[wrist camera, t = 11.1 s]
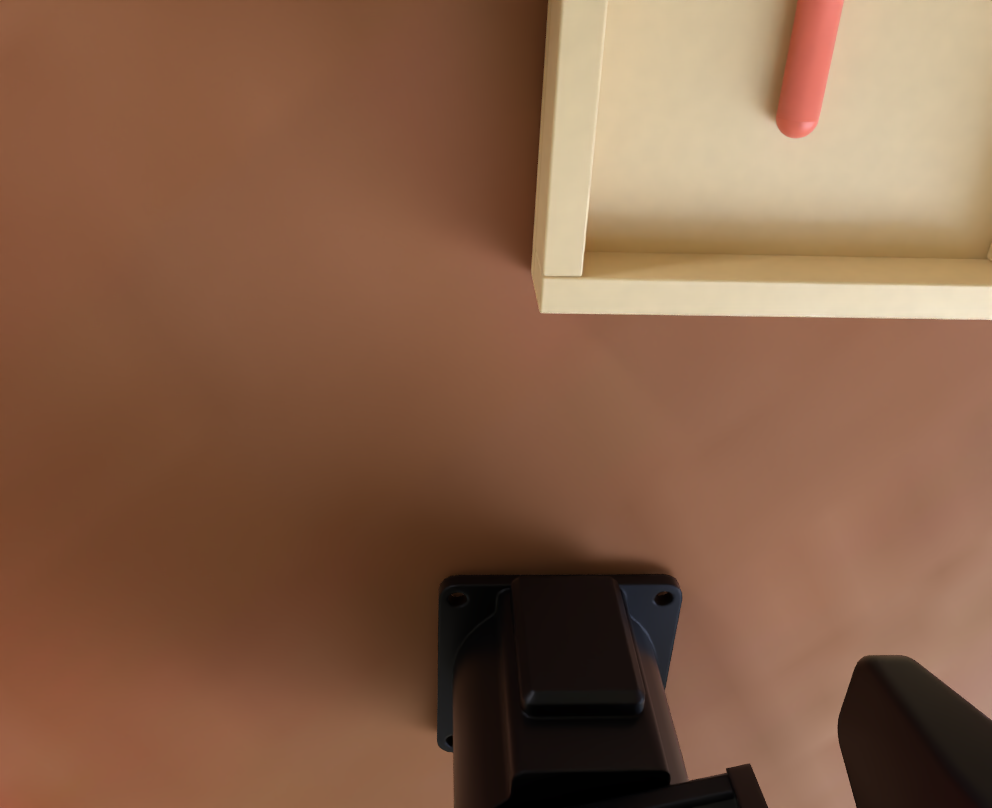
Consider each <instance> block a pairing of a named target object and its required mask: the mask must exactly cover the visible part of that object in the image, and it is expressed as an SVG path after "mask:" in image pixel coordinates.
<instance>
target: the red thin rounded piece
mask: <svg viewBox="0 0 992 808" xmlns="http://www.w3.org/2000/svg"><path fill="white" fill-rule="evenodd" d="M843 3H844V0H798V2H797V7H796V12H795V18H794V23H793V28H792V34H791V39H790V44H789V50H788V55H787V60H786V66H785V71H784V76H783V82H782V87H781V93H780V98H779V103H778V109H777V114H776V124H777V126H778V128H779V130H780V131H781V133H782V134H784V135H785V136H787V137H790V138H802V137H805V136H807V135H808V134H810V133H811V132H812V131H813V130H814V129H815V128H816V126H817V124H818V121H819V117H820V112H821V108H822V103H823V98H824V93H825V89H826V84H827V79H828V74H829V70H830V65H831V60H832V55H833V51H834V46H835V41H836V36H837V32H838V27H839V22H840V18H841V13H842V8H843Z"/></svg>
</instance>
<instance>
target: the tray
mask: <svg viewBox="0 0 992 808" xmlns="http://www.w3.org/2000/svg"><path fill="white" fill-rule="evenodd" d="M797 2H798V0H548V12H547V28H546V44H545V60H544V76H543V92H542V108H541V123H540V139H539V155H538V171H537V187H536V203H535V219H534V234H533V250H532V266H531V274H532V279H533V284H534V288H535V293H536V297H537V302H538V306H539V311H540V312H541V313H567V314H634V315H701V316H768V317H836V318H903V319H970V320H992V0H844V3H843V8H842V13H841V18H840V22H839V27H838V32H837V36H836V41H835V46H834V51H833V55H832V60H831V65H830V70H829V74H828V79H827V84H826V89H825V93H824V98H823V103H822V108H821V112H820V117H819V121H818V124H817V126H816V128H815V129H814V130H813V131H812V132H811V133H810V134H808V135H807V136H805V137H802V138H790V137H787V136H785V135H784V134H782V133H781V131H780V130H779V128H778V126H777V124H776V114H777V109H778V103H779V98H780V93H781V87H782V82H783V76H784V71H785V66H786V60H787V55H788V50H789V44H790V39H791V34H792V28H793V23H794V18H795V12H796V7H797Z"/></svg>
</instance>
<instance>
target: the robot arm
mask: <svg viewBox="0 0 992 808" xmlns="http://www.w3.org/2000/svg"><path fill="white" fill-rule="evenodd" d="M664 591H666V592H668V593H666V594H665V595H661V596H658V595H657V594H658V593H660V592H664ZM457 592H459V593H463V594H464V595H463V596H459V597H456V596H452V595H451V594H453V593H457ZM681 602H682V592H681V589H680V586H679V583H678V582H677V580H676V579H675V578H674V577H672V576H670V575H664V574H613V575H455V576H450V577H448V578H446V579H444V580H443V581H442V583H441V584H440V587H439V611H438V709H437V742H438V746H439V747H440V748H441V749H443V750H445V751H447V752H453V771H454V808H768V806H767V804H766V802H765V799H764V797H763V794H762V792H761V789H760V787H759V784H758V782H757V779H756V777H755V774H754V772H753V769H752V767H751V765H750V764H745V765H740V766H736V767H731V768H726V771H727V773H724V774H719V775H714V776H710V777H705V778H700V779H696V780H691V781H689V779H688V776H687V772H686V768H685V765H684V761H683V757H682V753H681V750H680V746H679V742H678V739H677V735H676V731H675V728H674V724H673V720H672V717H671V713H670V709H669V705H668V702H667V698H666V694H665V687H666V682H667V676H668V671H669V666H670V661H671V655H672V650H673V645H674V639H675V634H676V629H677V624H678V618H679V613H680V608H681ZM452 735H453V736H452ZM838 738H839V744H840V748H841V752H842V755H843V759H844V763H845V766H846V770H847V774H848V777H849V781H850V785H851V788H852V792H853V796H854V799H855V803H856V807H857V808H992V720H991V719H989V718H988V717H987V716H986V715H984V714H983V713H982V712H980V711H979V710H978V709H977V708H975V707H974V706H973V705H971V704H970V703H969V702H968V701H966V700H965V699H964V698H962V697H961V696H960V695H959V694H957V693H956V692H955V691H954V690H952V689H951V688H950V687H948V686H947V685H946V684H945V683H943V682H942V681H941V680H939V679H938V678H937V677H936V676H934V675H933V674H932V673H930V672H929V671H928V670H927V669H925V668H924V667H923V666H922V665H920V664H919V663H918V662H916V661H915V660H913V659H911V658H909V657H907V656H902V655H868V656H865V657H863V658H861V659H860V660H859V661H858V662H857V665H856V667H855V669H854V672H853V675H852V678H851V681H850V684H849V687H848V690H847V693H846V696H845V699H844V702H843V705H842V708H841V711H840V714H839V719H838Z"/></svg>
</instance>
